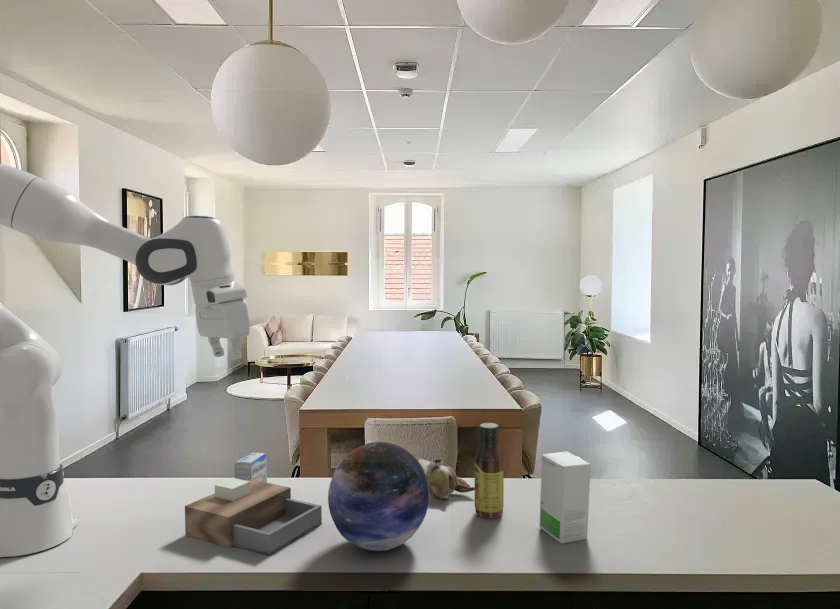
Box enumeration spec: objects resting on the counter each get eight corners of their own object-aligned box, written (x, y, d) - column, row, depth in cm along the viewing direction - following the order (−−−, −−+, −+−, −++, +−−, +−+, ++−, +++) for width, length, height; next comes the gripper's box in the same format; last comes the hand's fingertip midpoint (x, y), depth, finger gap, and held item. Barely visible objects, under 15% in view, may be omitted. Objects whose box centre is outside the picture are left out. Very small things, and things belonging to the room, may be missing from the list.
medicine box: (252, 499, 144) (251, 462, 143) (234, 498, 145) (233, 461, 144) (267, 487, 152) (266, 452, 151) (250, 486, 153) (249, 451, 152)
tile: (214, 496, 129) (214, 484, 129) (232, 489, 134) (232, 477, 134) (232, 500, 127) (232, 488, 127) (250, 493, 131) (249, 481, 131)
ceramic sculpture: (434, 446, 155) (478, 464, 144) (433, 480, 156) (477, 500, 145) (402, 456, 148) (446, 475, 137) (401, 490, 149) (444, 512, 138)
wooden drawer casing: (185, 535, 125) (184, 506, 124) (249, 504, 141) (248, 478, 140) (229, 547, 119) (229, 517, 119) (291, 514, 135) (290, 487, 135)
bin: (233, 545, 120) (233, 525, 120) (288, 516, 134) (287, 498, 134) (269, 555, 116) (269, 534, 116) (321, 524, 130) (321, 505, 130)
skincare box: (538, 528, 128) (539, 453, 127) (566, 523, 130) (566, 450, 129) (562, 545, 120) (562, 465, 119) (590, 539, 122) (591, 461, 121)
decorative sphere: (307, 557, 115) (306, 451, 114) (363, 518, 133) (363, 426, 132) (398, 580, 107) (398, 465, 105) (445, 535, 125) (445, 436, 123)
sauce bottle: (478, 507, 139) (478, 419, 138) (506, 510, 137) (506, 421, 136) (470, 518, 133) (471, 426, 132) (499, 522, 131) (500, 429, 129)
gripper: (183, 296, 136) (196, 358, 137) (218, 294, 120) (232, 364, 121) (211, 291, 139) (223, 351, 141) (249, 288, 124) (262, 356, 125)
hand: (227, 357), depth 131 cm, fingers open, 8 cm apart
